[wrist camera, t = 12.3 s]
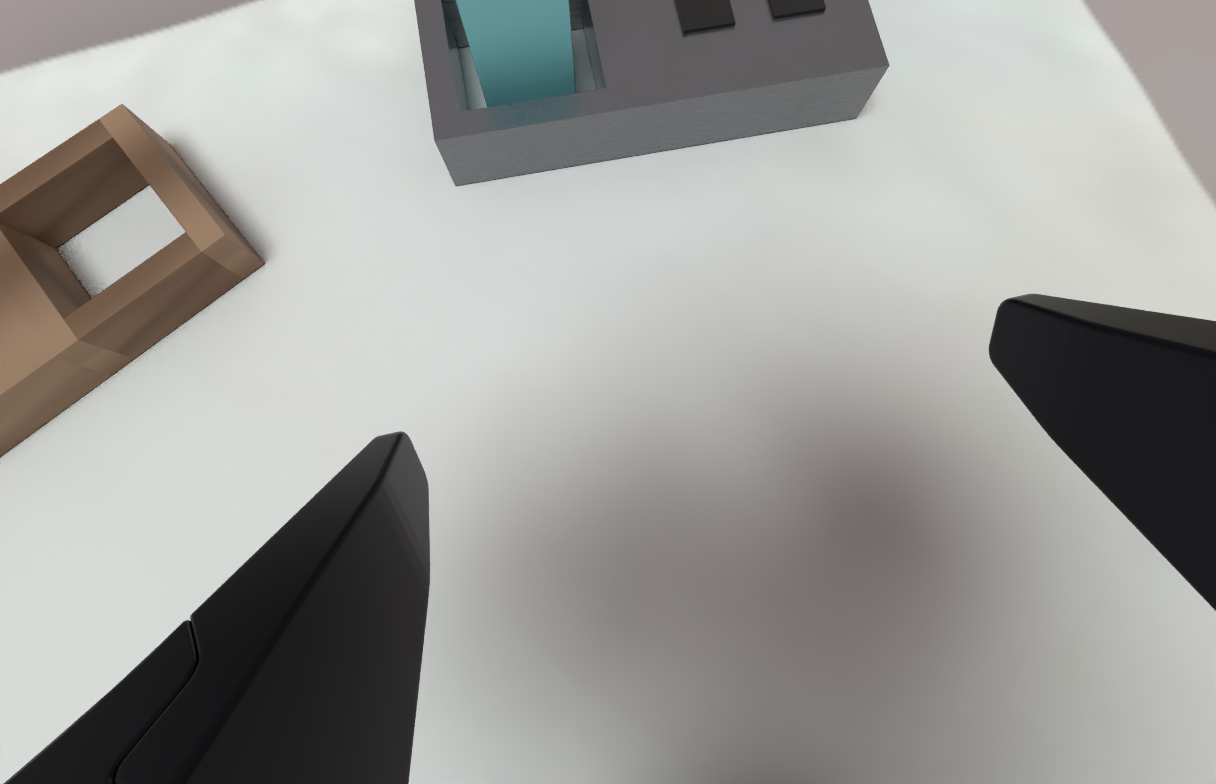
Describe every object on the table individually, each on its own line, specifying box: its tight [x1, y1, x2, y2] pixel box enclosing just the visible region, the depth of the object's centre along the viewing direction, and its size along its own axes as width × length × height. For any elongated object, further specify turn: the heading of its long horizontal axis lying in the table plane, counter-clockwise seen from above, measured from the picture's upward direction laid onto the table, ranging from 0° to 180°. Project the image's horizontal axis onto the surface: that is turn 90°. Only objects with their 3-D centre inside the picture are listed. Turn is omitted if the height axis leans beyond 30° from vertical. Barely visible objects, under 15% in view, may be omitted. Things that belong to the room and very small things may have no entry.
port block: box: [414, 0, 889, 186], centre depth 24 cm, size 8×17×3 cm, turn 101°
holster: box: [0, 104, 264, 456], centre depth 21 cm, size 7×16×4 cm, turn 131°
